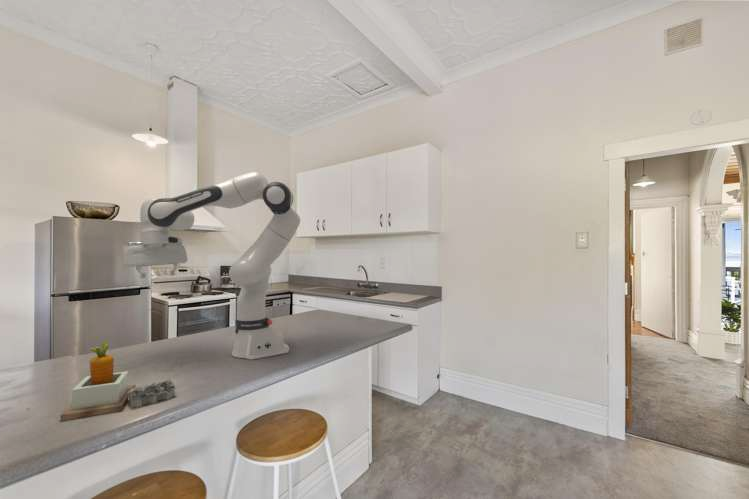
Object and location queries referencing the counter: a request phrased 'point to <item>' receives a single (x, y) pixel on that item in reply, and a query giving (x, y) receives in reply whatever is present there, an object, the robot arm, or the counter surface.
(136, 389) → the egg carton
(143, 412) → the counter surface
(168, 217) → the robot arm
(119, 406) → the walnut board
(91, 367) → the carrot
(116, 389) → the square open planter
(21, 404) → the counter surface
